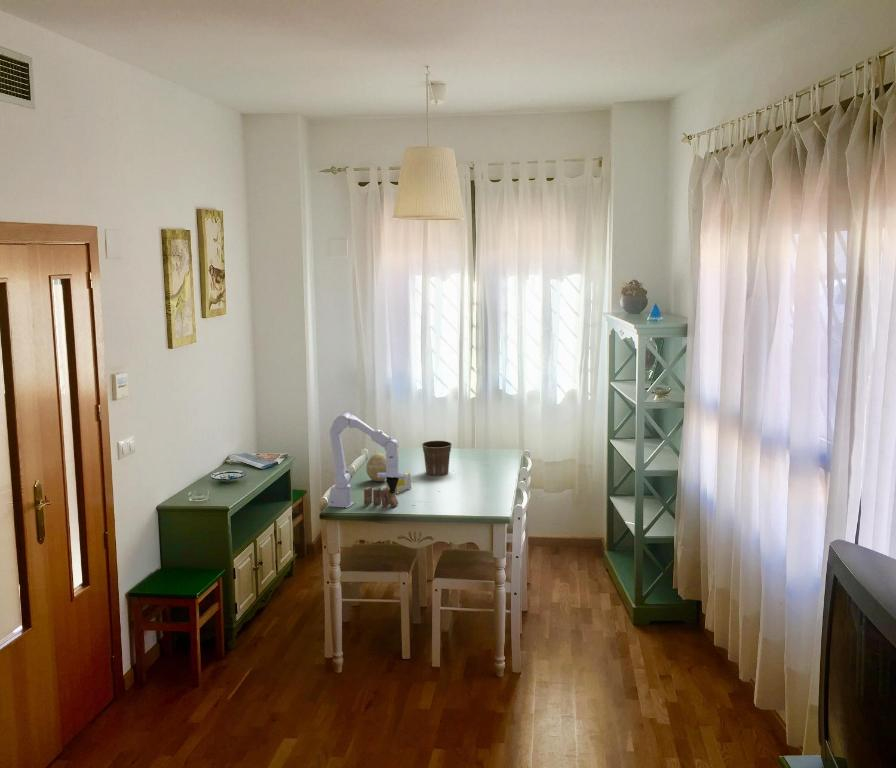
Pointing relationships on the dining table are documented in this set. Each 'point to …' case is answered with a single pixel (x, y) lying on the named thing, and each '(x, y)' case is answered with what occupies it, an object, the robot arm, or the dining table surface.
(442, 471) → the plant pot
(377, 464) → the fossilized egg
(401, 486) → the candy box
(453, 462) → the dining table surface
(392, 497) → the far tile
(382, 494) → the middle tile
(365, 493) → the end tile
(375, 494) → the tile
